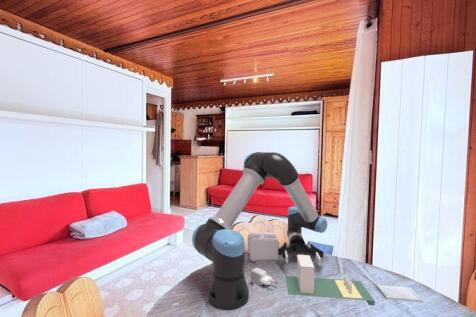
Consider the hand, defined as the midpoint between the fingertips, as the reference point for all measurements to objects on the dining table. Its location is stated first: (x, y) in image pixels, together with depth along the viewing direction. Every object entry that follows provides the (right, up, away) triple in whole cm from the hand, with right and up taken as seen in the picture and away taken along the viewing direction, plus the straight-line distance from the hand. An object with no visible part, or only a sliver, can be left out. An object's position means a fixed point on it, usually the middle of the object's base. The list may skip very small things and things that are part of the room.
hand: (303, 261), depth 99 cm
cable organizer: (-15, -8, +20) cm, 26 cm away
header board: (+7, -8, -8) cm, 13 cm away
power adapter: (-17, -8, -6) cm, 20 cm away
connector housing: (-1, -7, -7) cm, 10 cm away
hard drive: (+33, -9, -10) cm, 36 cm away
